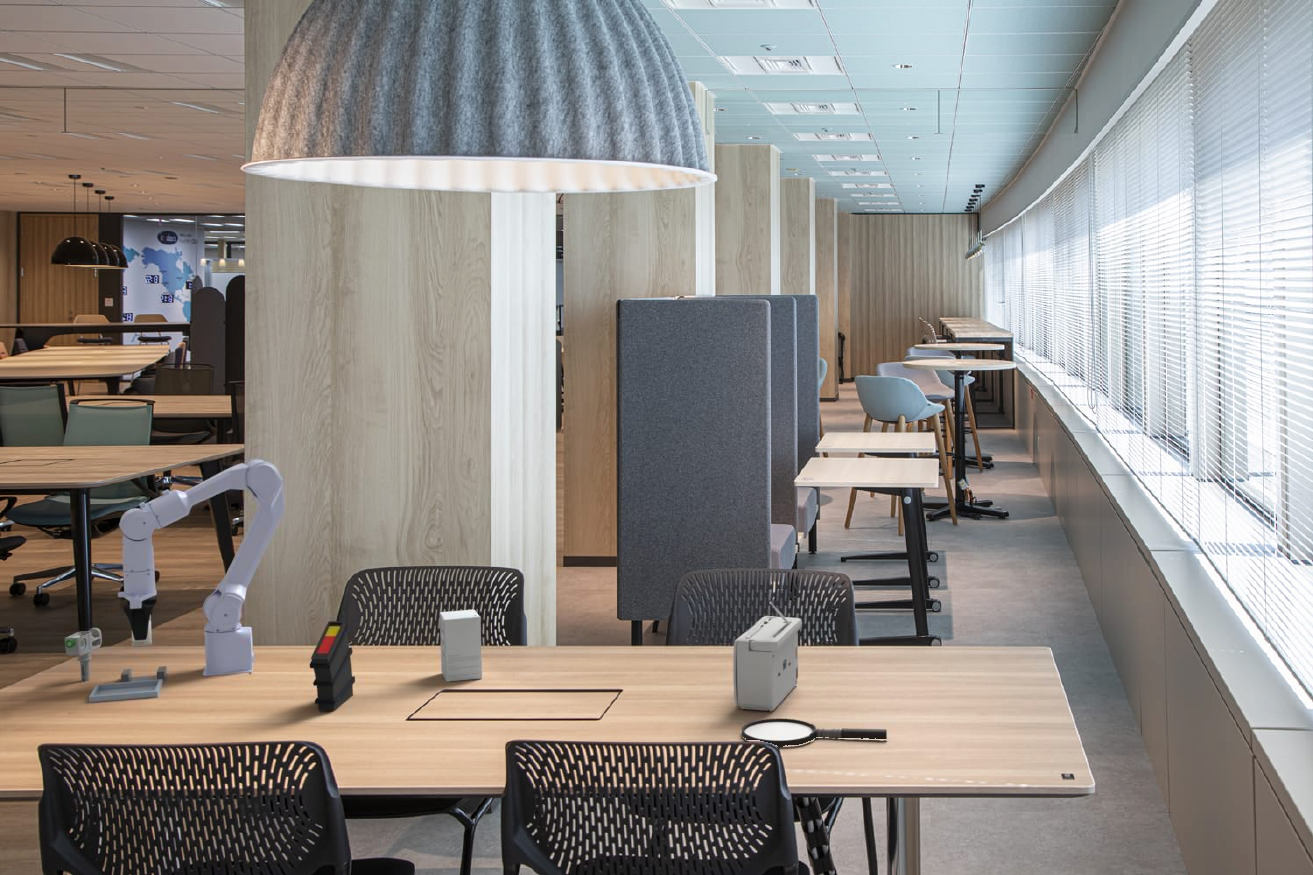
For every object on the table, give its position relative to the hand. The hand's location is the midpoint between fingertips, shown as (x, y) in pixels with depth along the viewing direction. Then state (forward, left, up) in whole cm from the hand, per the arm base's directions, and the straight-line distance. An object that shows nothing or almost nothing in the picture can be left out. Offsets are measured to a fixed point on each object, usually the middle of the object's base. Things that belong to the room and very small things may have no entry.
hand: (142, 637), depth 254 cm
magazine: (-36, +29, -9) cm, 47 cm away
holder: (0, 0, -9) cm, 9 cm away
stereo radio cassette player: (-114, +49, -9) cm, 124 cm away
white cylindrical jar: (0, 0, -2) cm, 2 cm away
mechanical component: (+11, -3, -9) cm, 15 cm away
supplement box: (-61, +16, -9) cm, 64 cm away
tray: (+2, +10, -9) cm, 13 cm away
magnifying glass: (-113, +73, -10) cm, 135 cm away
